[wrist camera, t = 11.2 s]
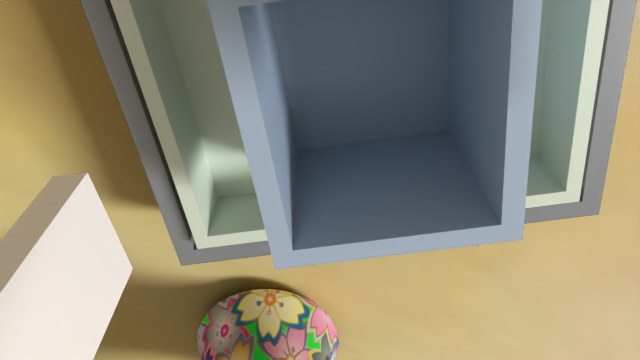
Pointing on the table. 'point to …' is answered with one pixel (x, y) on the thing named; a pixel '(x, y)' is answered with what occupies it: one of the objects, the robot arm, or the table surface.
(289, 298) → the mug
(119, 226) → the table surface
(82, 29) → the table surface
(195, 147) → the top crate
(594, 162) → the bottom crate
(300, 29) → the small crate
